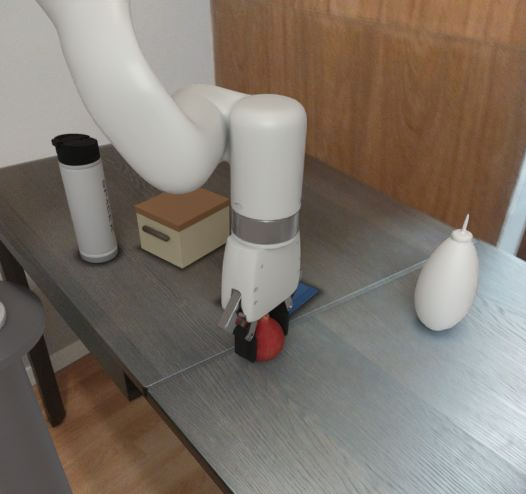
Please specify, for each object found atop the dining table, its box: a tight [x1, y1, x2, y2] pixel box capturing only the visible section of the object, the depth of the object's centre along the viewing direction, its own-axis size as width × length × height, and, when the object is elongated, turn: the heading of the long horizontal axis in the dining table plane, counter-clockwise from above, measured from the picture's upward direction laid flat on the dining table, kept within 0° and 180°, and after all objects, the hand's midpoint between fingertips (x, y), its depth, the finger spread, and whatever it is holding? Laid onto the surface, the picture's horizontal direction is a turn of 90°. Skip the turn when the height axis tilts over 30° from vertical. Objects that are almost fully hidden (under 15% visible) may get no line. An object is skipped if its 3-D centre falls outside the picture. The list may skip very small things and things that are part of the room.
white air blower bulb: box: [413, 213, 480, 332], centre depth 73 cm, size 8×8×18 cm
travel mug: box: [50, 133, 119, 264], centre depth 85 cm, size 6×7×20 cm
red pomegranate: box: [243, 313, 286, 363], centre depth 70 cm, size 6×6×8 cm
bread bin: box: [134, 187, 231, 269], centre depth 91 cm, size 13×10×8 cm
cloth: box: [219, 281, 319, 316], centre depth 83 cm, size 12×10×1 cm
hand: (261, 343), depth 70 cm, fingers closed on red pomegranate, 5 cm apart
